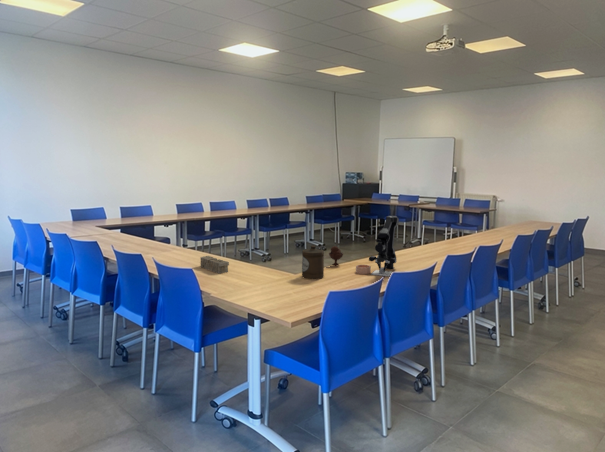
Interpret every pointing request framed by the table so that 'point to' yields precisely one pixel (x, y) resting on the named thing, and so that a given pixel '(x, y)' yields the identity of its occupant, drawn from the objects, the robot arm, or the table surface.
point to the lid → (381, 272)
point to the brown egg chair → (335, 254)
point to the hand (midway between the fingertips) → (382, 271)
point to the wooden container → (313, 263)
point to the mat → (378, 275)
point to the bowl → (363, 269)
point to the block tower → (214, 264)
